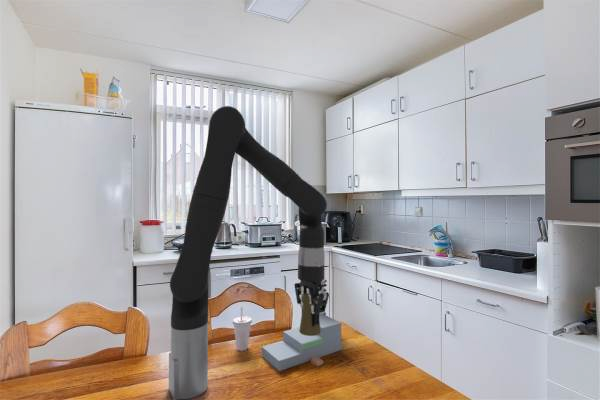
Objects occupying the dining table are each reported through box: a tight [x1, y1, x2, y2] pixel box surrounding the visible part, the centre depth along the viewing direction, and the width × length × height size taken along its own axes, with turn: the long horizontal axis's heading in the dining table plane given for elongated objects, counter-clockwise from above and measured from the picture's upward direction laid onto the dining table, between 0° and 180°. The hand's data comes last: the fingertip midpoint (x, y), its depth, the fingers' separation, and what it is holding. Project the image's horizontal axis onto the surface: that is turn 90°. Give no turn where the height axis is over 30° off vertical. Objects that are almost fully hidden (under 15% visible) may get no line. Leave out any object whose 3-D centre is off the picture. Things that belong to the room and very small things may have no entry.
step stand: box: [261, 313, 342, 372], centre depth 103 cm, size 24×11×9 cm, turn 124°
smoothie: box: [232, 306, 253, 352], centre depth 106 cm, size 6×6×14 cm
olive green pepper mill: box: [299, 293, 321, 336], centre depth 89 cm, size 6×6×11 cm
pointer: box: [310, 357, 324, 367], centre depth 97 cm, size 2×4×1 cm, turn 34°
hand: (310, 323), depth 89 cm, fingers closed on olive green pepper mill, 4 cm apart
